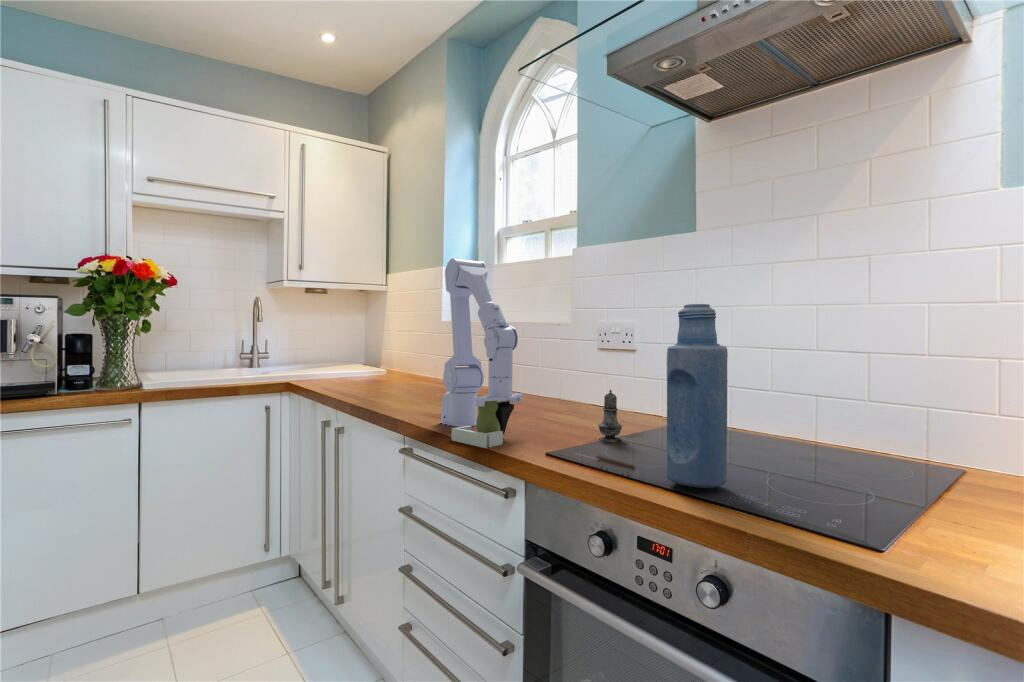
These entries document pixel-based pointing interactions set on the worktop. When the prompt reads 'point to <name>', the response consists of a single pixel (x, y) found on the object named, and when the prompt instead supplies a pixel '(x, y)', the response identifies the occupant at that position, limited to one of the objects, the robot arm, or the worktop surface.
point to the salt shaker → (610, 419)
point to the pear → (487, 418)
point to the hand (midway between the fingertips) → (499, 434)
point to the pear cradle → (477, 437)
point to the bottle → (697, 401)
